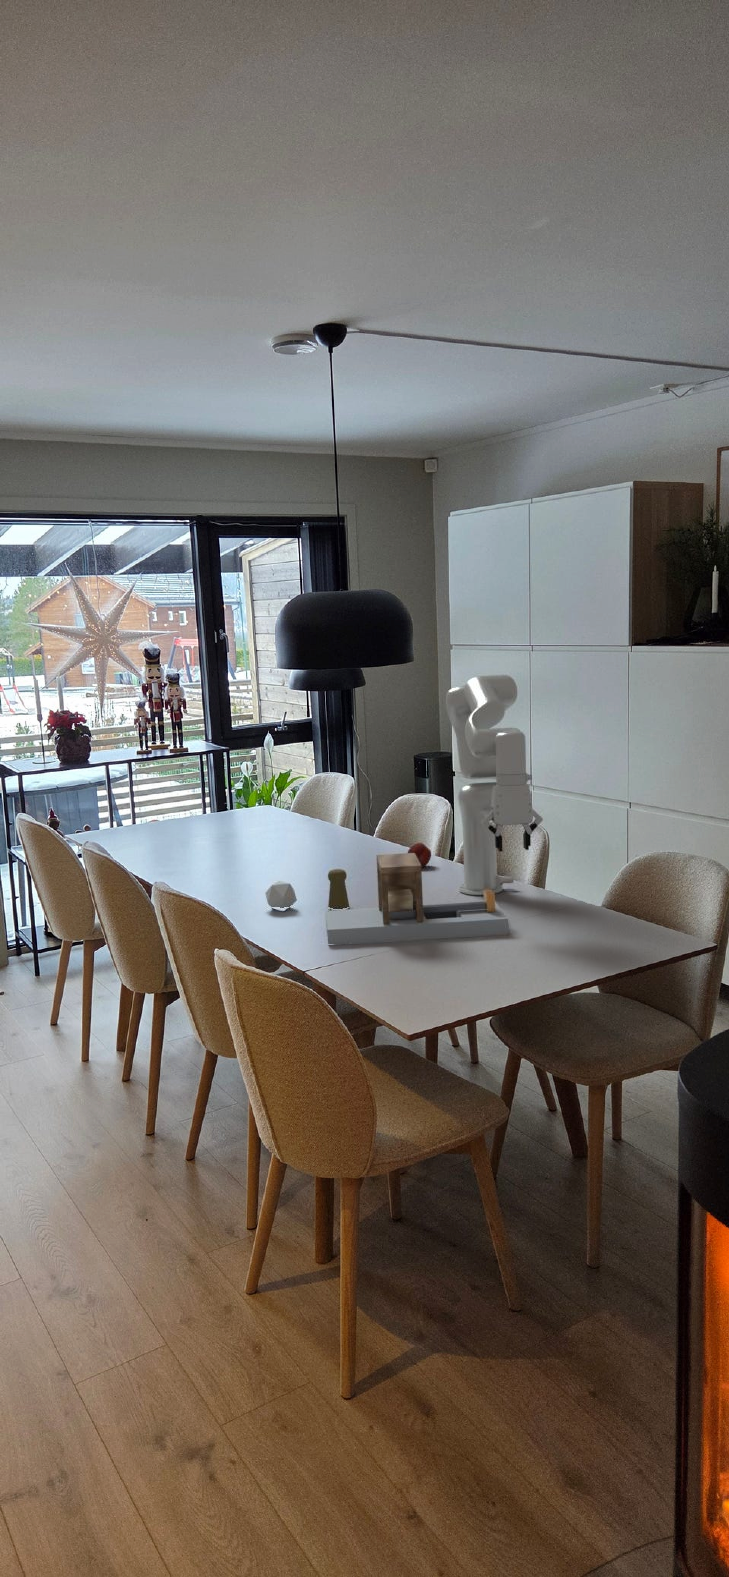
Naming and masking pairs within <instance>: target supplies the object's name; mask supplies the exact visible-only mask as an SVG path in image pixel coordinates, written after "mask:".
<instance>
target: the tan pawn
mask: <svg viewBox="0 0 729 1577" xmlns="http://www.w3.org/2000/svg"><path fill="white" fill-rule="evenodd" d="M327 879H328V881H329V892H328V904H327V905H328V906H327V908H328V907H330V908H333V909H343V908H347V907H350V902H349V896H348V891H347V885H346V879H347V872H346V871H345V870H344V869H342V868H341V869H340V868H334V869H331V870H330V871H328V874H327Z"/></svg>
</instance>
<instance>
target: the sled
mask: <svg viewBox="0 0 729 1577" xmlns="http://www.w3.org/2000/svg"><path fill="white" fill-rule="evenodd" d="M483 892H484V895H483V901H484V902H479V901H468V902H469V903H463V902H452V903H453V904H446V903H435V904H436V905H430V904H423V913H433V912H449V911H465V910H482V909H486V910H487V912H491V911H495V902H496V895H495V894H494V892H493V891H492V890H491V889H488V890H483ZM381 908H382V903H381ZM382 914H383V911H382ZM412 918H417V913H416V901H413V910H402V911H389V920H396V919H412Z"/></svg>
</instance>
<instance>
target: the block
mask: <svg viewBox="0 0 729 1577" xmlns="http://www.w3.org/2000/svg"><path fill="white" fill-rule="evenodd" d="M388 901H389V911H402V910H413V895H412V892H411V890H410V889H404V890H388Z"/></svg>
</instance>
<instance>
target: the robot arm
mask: <svg viewBox="0 0 729 1577" xmlns="http://www.w3.org/2000/svg"><path fill="white" fill-rule="evenodd" d="M445 696H446V697H445V708H446V712H447V716H448V719H449V722H450V723H451V725H452V729H453V730H454V734H455V738H456V745H457V755H458V763H459V764H458V765H459V770H460V773H461V775H462V777H464V778H465V779H467V780H486V779H489V780H491V779H496V780H495V781H491V782H489V781H487V782H476V783H475V782H474V783H468V784H466V785H464V786H462V787H461V788H460V790H459V792H458V804H459V806H458V807H459V810H460V816H461V823H462V824H461V825H462V826H461V827H462V842H463V843H462V844H463V846H462V847H463V852H462V853H463V873H464V874H463V877H464V879H463V880H464V883H462V884H461V885H459V886H458V888H459V890H458V891H459V892H460V893H463V894H465V895H468V896H469V895H471V896H484V892H483V890H488V889H491V890H492V891H493V892H494V894H499V893H500V892H502V891H503V889H504V888H503V887H504V886H503V885H504V884H514V877H513V876H507V875H502V876H500V875H499V874H498V870H497V869H498V866H497V865H498V863H497V860H498V859H497V850H498V852H503V836H502V835H501V834H502V833H501V832H502V830H503V828H504V826H515V825H517V826H518V825H522V827H523V829H524V831H523V833H522V844H523V847H522V848H523V849H524V850H526V851H529V850H530V846H531V843H532V842H531V841H532V840H531V835H532V833H533V832H534V831H535V829H537V827H538V826H539V825H540V824H541V823H542V822H543V820H544V819H543V817H542V816H541V815H539V814H538V813H537V811H535V810H534V808H533V801H532V800H533V799H532V793H531V792H532V791H531V789H530V784H528V781H532V780H533V775H532V774H528V773H527V753H526V752H527V750H526V748H527V747H526V735H525V734H524V732H523V731H521V730H520V729H519V728H517V727H502V728H501V727H496V728H493V727H495V726H497V725H498V724H499V723H501V721H502V720H503V719H504V717H505V713H506V711H507V710H508V709H509V708H511V707H512V706H513V705H514V704H515V703H516V701H517V699H518V687H517V683H516V682H515V680H514V678H512V676H509V675H507V674H496V675H495V674H493V675H478V676H474V677H471V678H470V679H468V681H467V682H466V683H465V685H459V686H455V687H452V688H451V689H448V691H447V692H446V695H445ZM533 819H534V821H533ZM491 821H492V823H494V824H495V826H494V825H493V824H492V823H491Z"/></svg>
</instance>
